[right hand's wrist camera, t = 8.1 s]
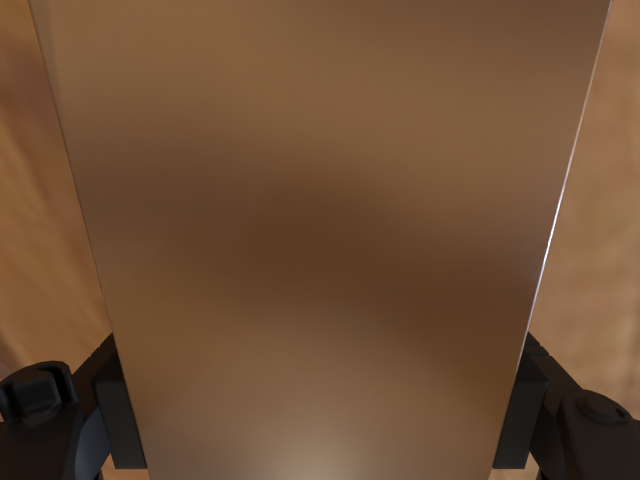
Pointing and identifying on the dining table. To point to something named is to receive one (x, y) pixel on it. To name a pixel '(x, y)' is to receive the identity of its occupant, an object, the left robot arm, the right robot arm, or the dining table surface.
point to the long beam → (320, 218)
